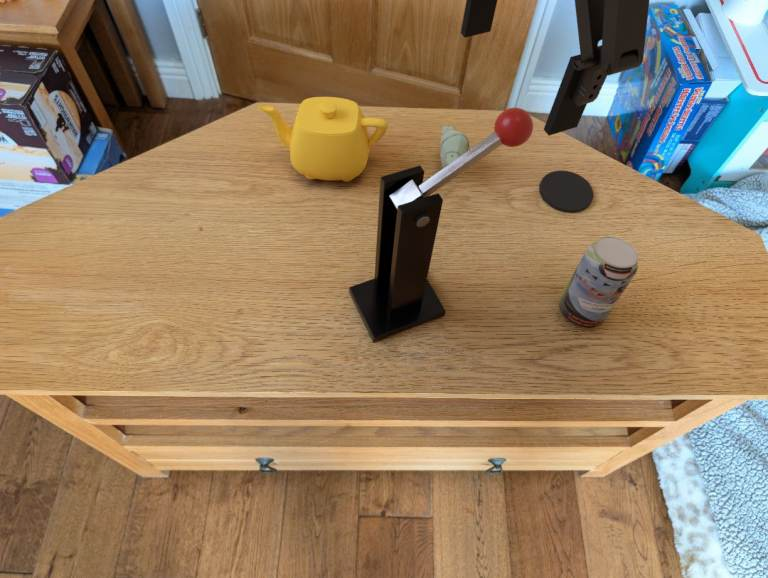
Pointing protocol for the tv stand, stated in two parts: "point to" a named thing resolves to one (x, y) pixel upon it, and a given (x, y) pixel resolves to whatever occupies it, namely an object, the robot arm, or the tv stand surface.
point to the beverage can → (598, 281)
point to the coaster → (566, 191)
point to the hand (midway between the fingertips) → (514, 77)
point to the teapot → (328, 137)
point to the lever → (472, 155)
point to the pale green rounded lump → (452, 145)
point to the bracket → (401, 262)
